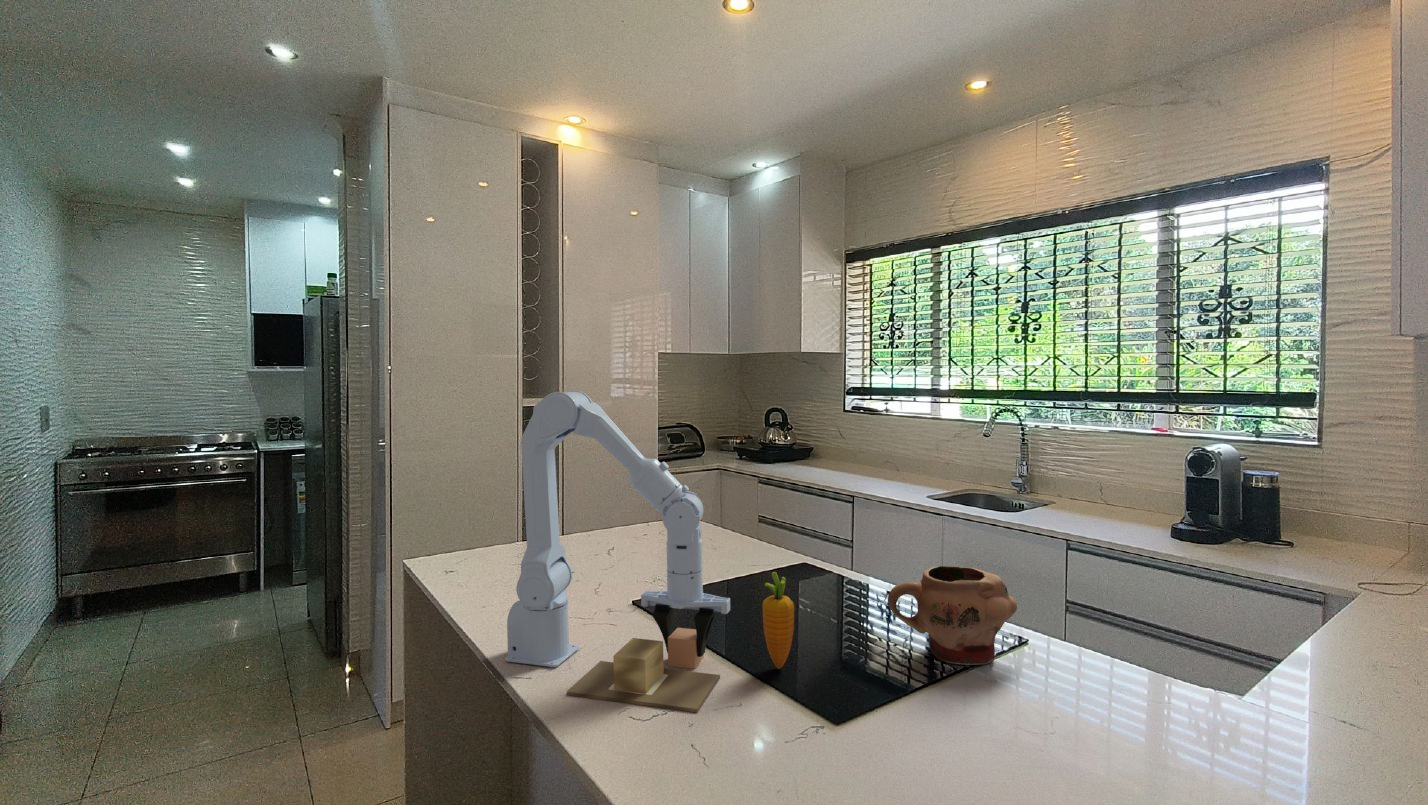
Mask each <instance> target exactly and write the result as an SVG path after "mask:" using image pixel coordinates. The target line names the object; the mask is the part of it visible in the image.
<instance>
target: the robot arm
mask: <svg viewBox="0 0 1428 805" xmlns="http://www.w3.org/2000/svg"><path fill="white" fill-rule="evenodd" d="M623 432H624V431H623ZM623 432H622V430H621V429H620V428H619V427H618V426H617V425H616V423H615V422H614V421H613V420H612V419H611V418H610V417H609V415H608V414H607V413H606V412H605V411H604V410H603V408H602V407H601V406H600V405H599V404H598V403H596V402H594V401H592V398H590V396H588V394H586V393H585V392H584V391H580V390H571V391H564V392H562V391H554V392H551V393H549V394H547V395H545V397H543V398H542V399H541V400H540V401H538V402H537V403H536V404H535V405H534V406H533V412H532V416H531V417H530V419H529V422H528V424H527V426H526V427H525V429H524V432H523V434H522V436H521V440H520V446H521V462H522V478H523V480H522V484H523V498H524V499H523V500H524V515H525V516H524V517H525V518H524V519H525V533H526V535H525V536H526V549H525V552H524V554H523V557H522V560H521V563H520V575H519V578H518V580H517V583H516V586H515V587H516V588H515V590H516V595H517V598H518V600H517V601H515V602H514V603H513V604H512V606H511V607H510V608H509V611H508V614H507V620H506V632H507V639H506V640H507V656H506V657H505V658H504V659H505V660H504V661H505V662H507V663H508V662H509V663H516V664H517V663H518V664H525V665H533V666H540V667H541V666H542V667H551V668H557V667H558V666H560V665H561V664H562V663H563V662H565V661H566V660H567V659H569V658H570V657H571V656H573V654H575V653H576V652H577V651H578V650H579V649H580V646H579V645H576V644H575V645H574V644H570V638H569V637H570V633H569V632H570V630H569V628H570V626H569V597H568V595H567V592H566V590H567V588H568V587H569V585H570V584H571V582H572V580H573V579H572V578H573V571H572V567H571V565H570V563H569V562H568V560H567V556H566V549H565V547H564V546H563V544H562V543H561V540H560V539H561V538H560V521H559V520H560V519H559V518H560V517H559V503H558V486H557V483H558V482H557V468H556V466H557V465H556V452H555V451H556V447H558V445H560V444H561V443H562V442H563V440H565V439H566V437H568V436H569V435H570V434H571V433H572V434H573V435H577V436H582V437H586V438H590V439H591V438H592V439H595V440H596V441H597V442H598V444H600V445H601V446H602V447H603V448H604V449H605V450H606V451H607V452H608V453H610V454H611V455H612V456H613V457H614V458H615V459H616V461H618V462H619V463H620V464H621V465H622V466H623V467H625V469H626V470H627V471H628V472H629V473H630V474H629V476H630V484H631V486H632V487H634V489H635V490H636V491H637V492H638V493H639V494H640V495H641V496H642V497H643V499H645V501H646V502H648V503H649V505H650V506H652V508H653V509H654V510H655V511H656V512H658V513H660V514H662V516H661V521H662V524H663V525H664V528H665V529H666V535H667V541H666V587H667V590H661V591H659V590H658V591H656V590H655V591H650V590H645V591H644V592H643V593H642V594H640V595H641V596H640V597H641V598H640V599H641V600H640V601H641V602H640V604H641V607H649V606H650V607H651V606H653V607H654V610H653V611H652V618H653V620H654V621H655V623H656V625H657V626H658V628H659V630H660V633H661V634H662V638H663V642H664V644H665V648H666V652H667V653H666V654H668V637H669V636H670V635H671V634H672V633H673V632H674V631H675V630H676V619H677V609H679V610H681V609H683V610H684V609H685V610H686V609H687V610H697V611H698V612H697V613H696V614H695V615H694V616H693V620H694V624H695V629H696V633H697V657H702V656H703V654H704V655H705V653H706V647H707V641H708V639H709V638H708V637H709V633H710V630H711V628H712V624H713V623H714V620H715V618H716V616H717V613H721V615H722V614H723V615H727V614H728V613H729V612H730V611H731V598H730V597H722V596H718V595H714V594H710V593H704V589H703V588H704V585H703V580H704V579H703V577H704V575H703V540H702V526H701V525H702V524H700V522H701V520H702V518H703V516H704V512H705V511H704V504H703V502H702V500H701V499H700V497H699V495H698V494H697V493H695V492H693V491H689V490H690V488H689V487H688V485H687V484H683V485H682V484H681V483H680V481H678V479H676V477H675V476H674V475H673V474H671V473H670V471H669V470H668V469H669V468H670V465H668V463H667V462H665V461H662V462H660V461H659V460H658V459H657V458H647V457H645V456H644V455H643V454H642V453H641V452H640V450H639V449H638V448H637V447H636V446H635V445H634V444H633V442H631V441H630V439H629V438H628V437H627V436H626V435H625V433H623Z"/></svg>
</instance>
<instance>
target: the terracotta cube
mask: <svg viewBox="0 0 1428 805" xmlns="http://www.w3.org/2000/svg"><path fill="white" fill-rule="evenodd" d="M704 657H705V653H704V654H703V656H702V657H697V633H696V628H695V629H694V628H683V627H676V628H675V631H674V632H673V633H672V634H671V635H670V636H669V637H668V653H667V664H668V667H677V668H678V667H679V668H686V669H693V670H694V669H696V668H697V667H698V666H699V664H700V663H701V662H702V660H704Z"/></svg>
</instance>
